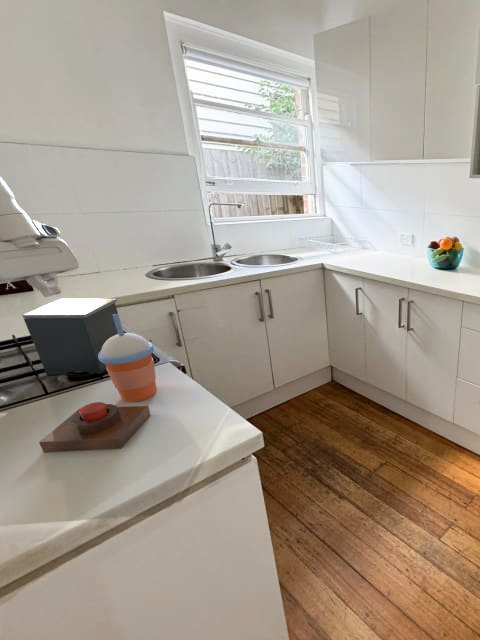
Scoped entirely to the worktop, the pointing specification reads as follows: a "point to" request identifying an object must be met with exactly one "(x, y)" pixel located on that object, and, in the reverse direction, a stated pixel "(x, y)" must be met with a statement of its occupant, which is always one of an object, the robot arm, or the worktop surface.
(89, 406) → the button
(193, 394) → the worktop surface
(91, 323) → the grey bin
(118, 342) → the cup with straw
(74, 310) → the box lid
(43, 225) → the robot arm
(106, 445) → the block
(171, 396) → the worktop surface
